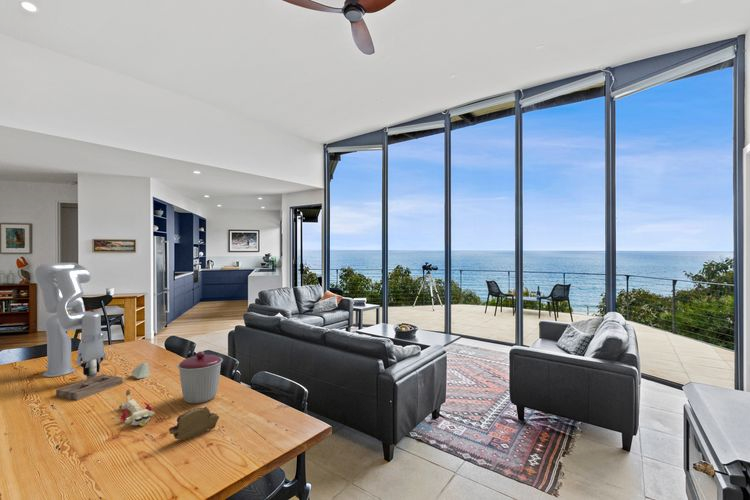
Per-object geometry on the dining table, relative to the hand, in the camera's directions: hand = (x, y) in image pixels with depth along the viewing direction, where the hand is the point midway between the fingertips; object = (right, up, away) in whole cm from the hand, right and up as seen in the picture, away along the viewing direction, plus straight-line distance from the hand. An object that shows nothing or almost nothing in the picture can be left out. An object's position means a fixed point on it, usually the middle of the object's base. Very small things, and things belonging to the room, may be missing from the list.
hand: (91, 373), depth 174 cm
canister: (+67, -4, -21) cm, 70 cm away
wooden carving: (+80, -4, -52) cm, 95 cm away
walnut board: (+9, -4, -11) cm, 15 cm away
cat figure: (+49, -4, -37) cm, 61 cm away
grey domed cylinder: (0, -4, 0) cm, 4 cm away
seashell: (+21, -4, +5) cm, 22 cm away
